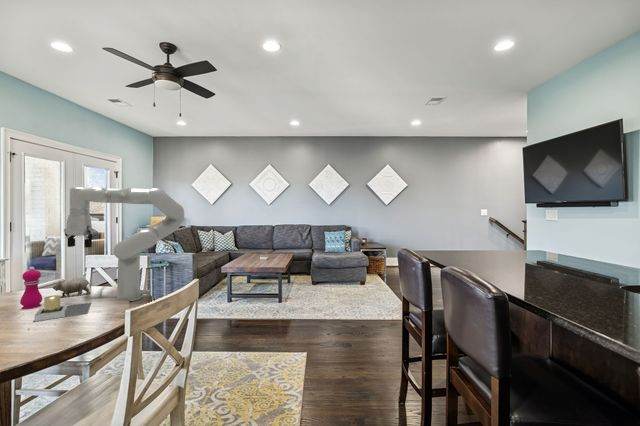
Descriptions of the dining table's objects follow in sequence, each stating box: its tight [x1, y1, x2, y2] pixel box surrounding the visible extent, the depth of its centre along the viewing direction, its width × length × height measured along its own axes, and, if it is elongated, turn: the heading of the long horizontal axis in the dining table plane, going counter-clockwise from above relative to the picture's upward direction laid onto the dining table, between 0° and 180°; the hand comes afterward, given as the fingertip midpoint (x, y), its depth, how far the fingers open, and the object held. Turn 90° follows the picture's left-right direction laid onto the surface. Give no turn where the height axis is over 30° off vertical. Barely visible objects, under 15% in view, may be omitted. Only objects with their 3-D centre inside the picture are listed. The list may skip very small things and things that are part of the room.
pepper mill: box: [19, 266, 44, 310], centre depth 130 cm, size 7×7×20 cm
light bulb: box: [43, 294, 61, 313], centre depth 119 cm, size 5×5×8 cm
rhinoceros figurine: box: [51, 277, 91, 299], centre depth 150 cm, size 8×14×15 cm
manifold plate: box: [32, 302, 92, 323], centre depth 124 cm, size 17×18×4 cm
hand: (79, 246), depth 138 cm, fingers open, 9 cm apart
